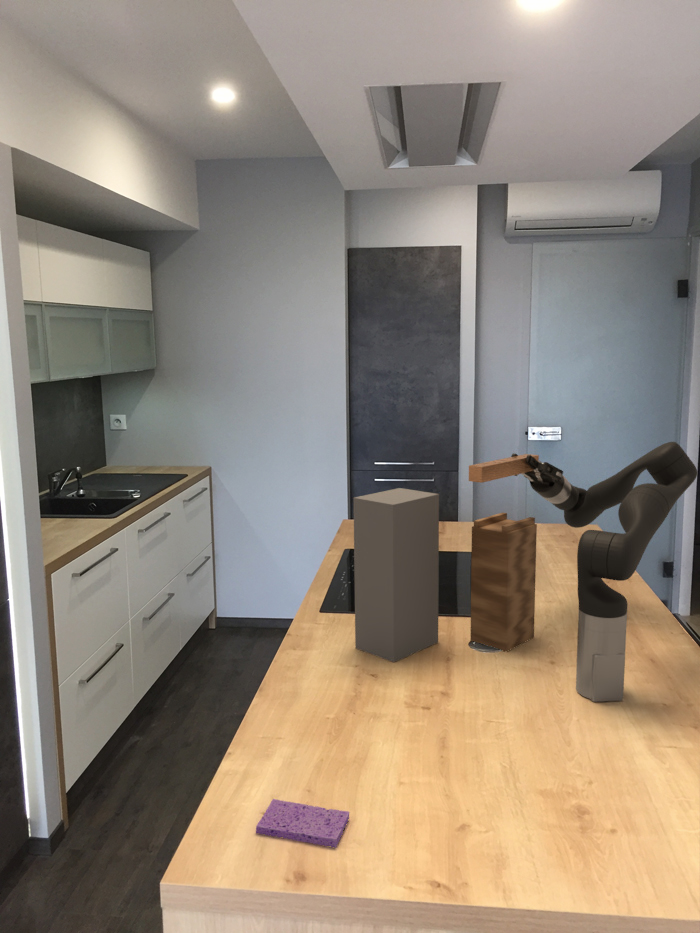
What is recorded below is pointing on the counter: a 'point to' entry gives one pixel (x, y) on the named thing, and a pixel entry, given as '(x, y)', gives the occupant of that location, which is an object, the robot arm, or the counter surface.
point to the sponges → (303, 823)
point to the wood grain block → (503, 581)
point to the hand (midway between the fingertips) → (520, 457)
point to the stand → (396, 572)
